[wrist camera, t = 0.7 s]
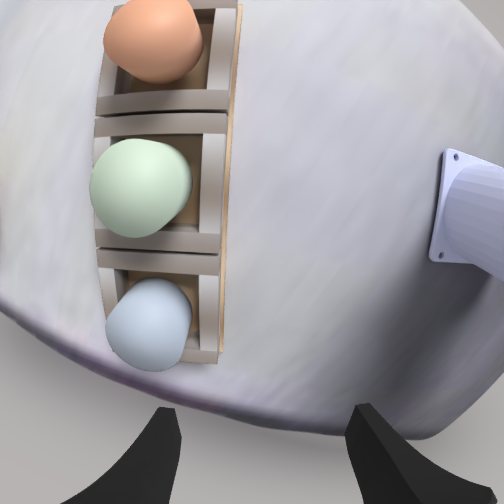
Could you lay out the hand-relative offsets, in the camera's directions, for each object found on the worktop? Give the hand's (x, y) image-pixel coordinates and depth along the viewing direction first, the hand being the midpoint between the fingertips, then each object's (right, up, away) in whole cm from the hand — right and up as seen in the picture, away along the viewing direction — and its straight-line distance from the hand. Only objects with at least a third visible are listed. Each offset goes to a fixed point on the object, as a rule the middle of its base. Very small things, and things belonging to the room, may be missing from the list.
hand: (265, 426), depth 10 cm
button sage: (-5, +10, +3) cm, 12 cm away
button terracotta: (-5, +17, +1) cm, 18 cm away
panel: (-5, +11, +6) cm, 14 cm away
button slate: (-6, +4, +6) cm, 9 cm away
